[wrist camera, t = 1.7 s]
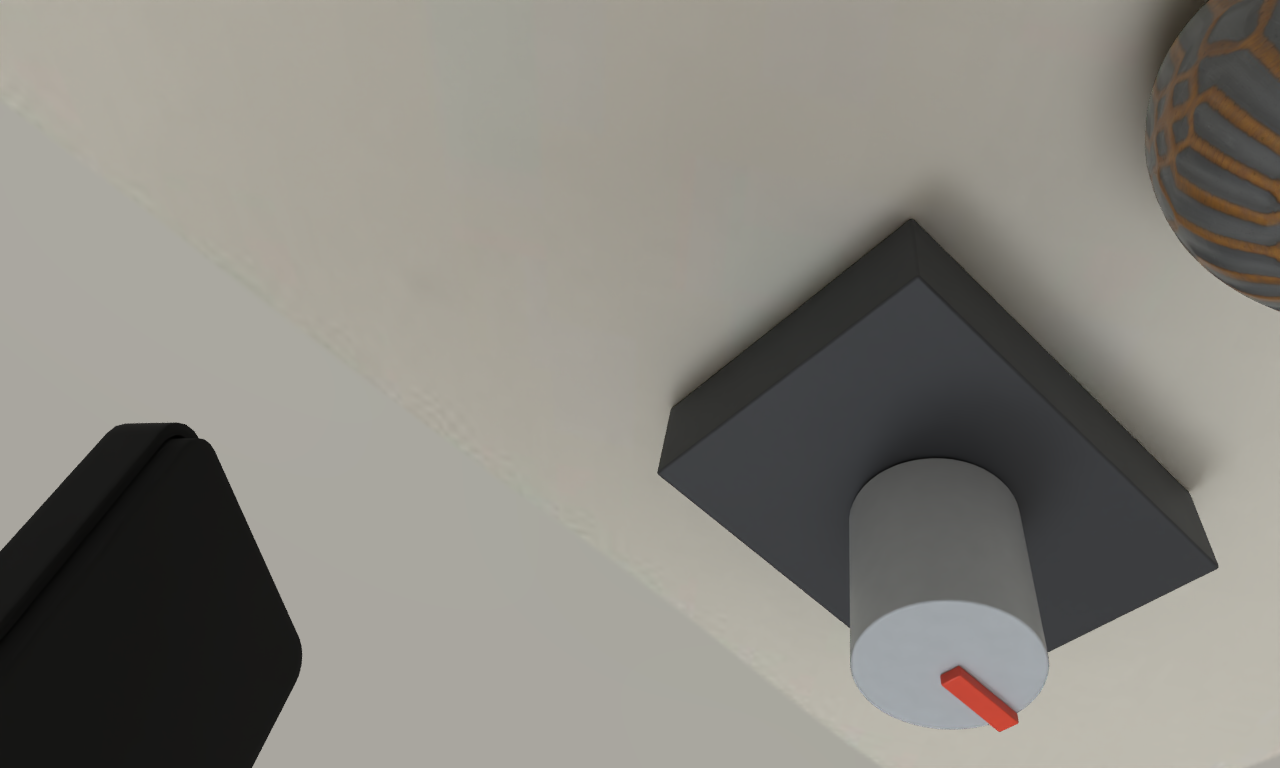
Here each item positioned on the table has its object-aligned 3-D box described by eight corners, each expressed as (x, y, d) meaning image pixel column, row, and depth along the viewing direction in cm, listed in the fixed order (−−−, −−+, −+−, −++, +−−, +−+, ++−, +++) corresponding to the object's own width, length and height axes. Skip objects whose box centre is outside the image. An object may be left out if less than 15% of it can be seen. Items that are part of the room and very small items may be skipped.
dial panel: (669, 408, 32) (655, 474, 29) (911, 216, 27) (918, 275, 25) (936, 630, 35) (943, 704, 33) (1190, 493, 31) (1220, 568, 28)
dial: (815, 514, 29) (810, 668, 25) (946, 428, 27) (965, 581, 23) (921, 604, 31) (935, 764, 26) (1055, 529, 28) (1093, 691, 24)
